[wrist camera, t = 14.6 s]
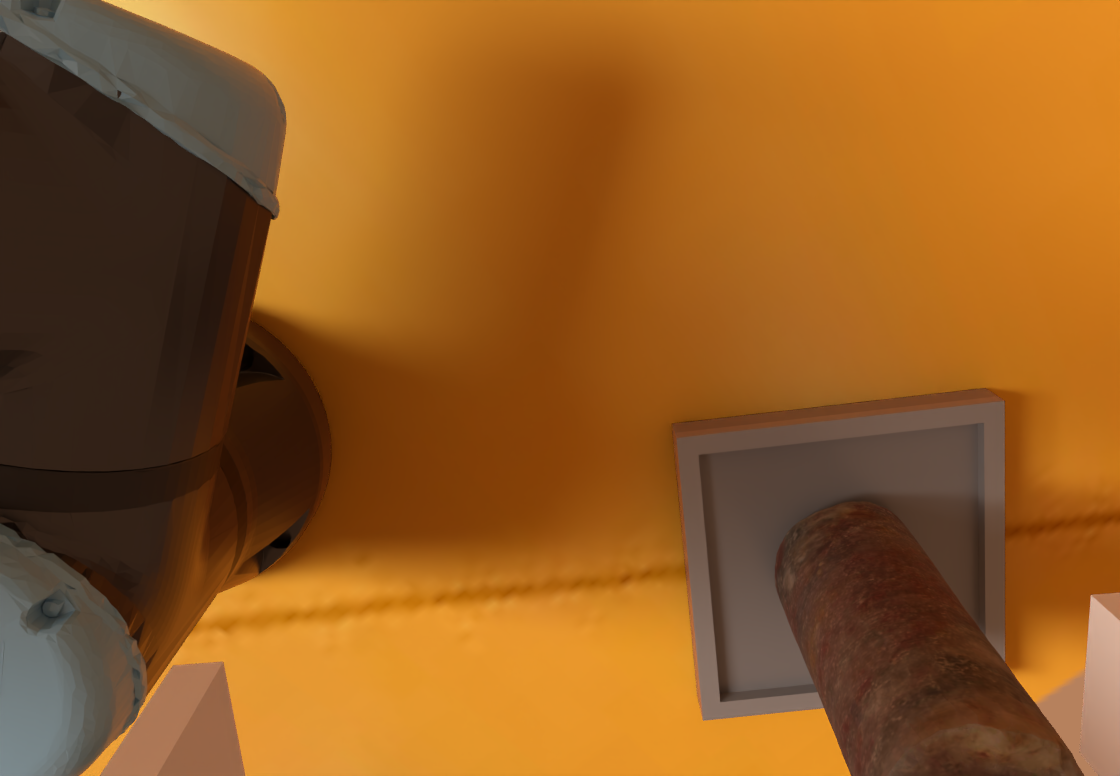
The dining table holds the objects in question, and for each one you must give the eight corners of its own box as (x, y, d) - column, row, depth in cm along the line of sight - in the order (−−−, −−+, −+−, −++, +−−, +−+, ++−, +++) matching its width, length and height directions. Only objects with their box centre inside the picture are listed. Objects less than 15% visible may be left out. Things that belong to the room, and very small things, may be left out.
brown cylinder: (785, 642, 53) (912, 945, 34) (746, 520, 51) (857, 769, 32) (926, 599, 53) (1137, 884, 33) (892, 474, 51) (1094, 700, 31)
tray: (697, 696, 56) (702, 720, 54) (671, 423, 52) (676, 438, 49) (987, 666, 55) (1005, 689, 53) (985, 388, 51) (1004, 400, 49)
